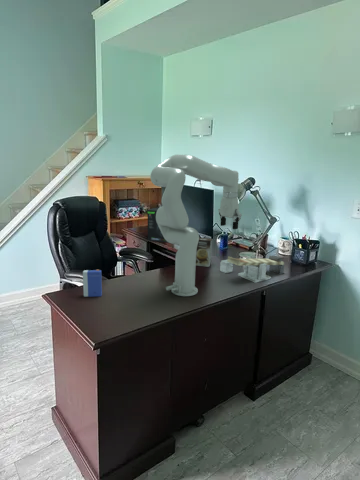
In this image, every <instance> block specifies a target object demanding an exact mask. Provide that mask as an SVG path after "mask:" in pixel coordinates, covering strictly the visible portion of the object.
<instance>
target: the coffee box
mask: <svg viewBox="0 0 360 480" xmlns="http://www.w3.org/2000/svg"><path fill="white" fill-rule="evenodd" d="M212 245H213V238H208V237H207V238H206V237H199V241H198V245H197V250H196V266H198V267H206V268H209V267H210V266H211V260H212V259H211V258H212Z"/></svg>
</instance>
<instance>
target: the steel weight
mask: <svg viewBox="0 0 360 480" xmlns="http://www.w3.org/2000/svg"><path fill="white" fill-rule="evenodd" d="M227 260H228V259H223V260H220V263H219V272H222V273H224V274H228V273H233V268H234V264H233V263H230V262H228V261H227Z"/></svg>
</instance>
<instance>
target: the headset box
mask: <svg viewBox="0 0 360 480" xmlns="http://www.w3.org/2000/svg"><path fill="white" fill-rule="evenodd" d="M159 208H160V207H158V208H157V207H151V208H149V209H147V242H160V243H167V244H169V242H167V241H166V240H165V238H164V236H163V234H162V232H161V230H160V228H159V226H158V224H157V222H156V212H157V210H158V209H159Z"/></svg>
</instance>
